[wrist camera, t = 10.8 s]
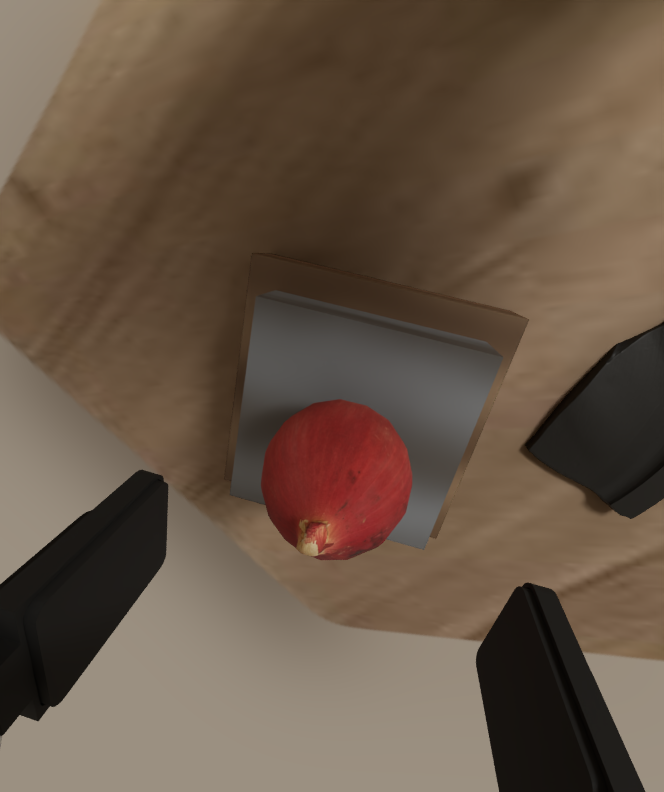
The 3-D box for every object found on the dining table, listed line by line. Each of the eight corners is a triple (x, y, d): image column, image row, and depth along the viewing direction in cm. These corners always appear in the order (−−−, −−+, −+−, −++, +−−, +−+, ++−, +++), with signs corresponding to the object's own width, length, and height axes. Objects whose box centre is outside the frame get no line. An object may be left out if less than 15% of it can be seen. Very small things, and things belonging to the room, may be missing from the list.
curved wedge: (829, 333, 19) (867, 340, 17) (619, 506, 24) (634, 523, 23) (702, 245, 18) (730, 244, 17) (515, 441, 24) (523, 454, 22)
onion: (432, 455, 17) (455, 598, 10) (333, 501, 19) (292, 650, 12) (367, 354, 16) (340, 430, 9) (269, 413, 18) (179, 516, 11)
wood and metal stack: (270, 253, 21) (227, 252, 16) (510, 311, 20) (554, 331, 15) (241, 455, 27) (202, 508, 21) (431, 508, 26) (442, 577, 20)
